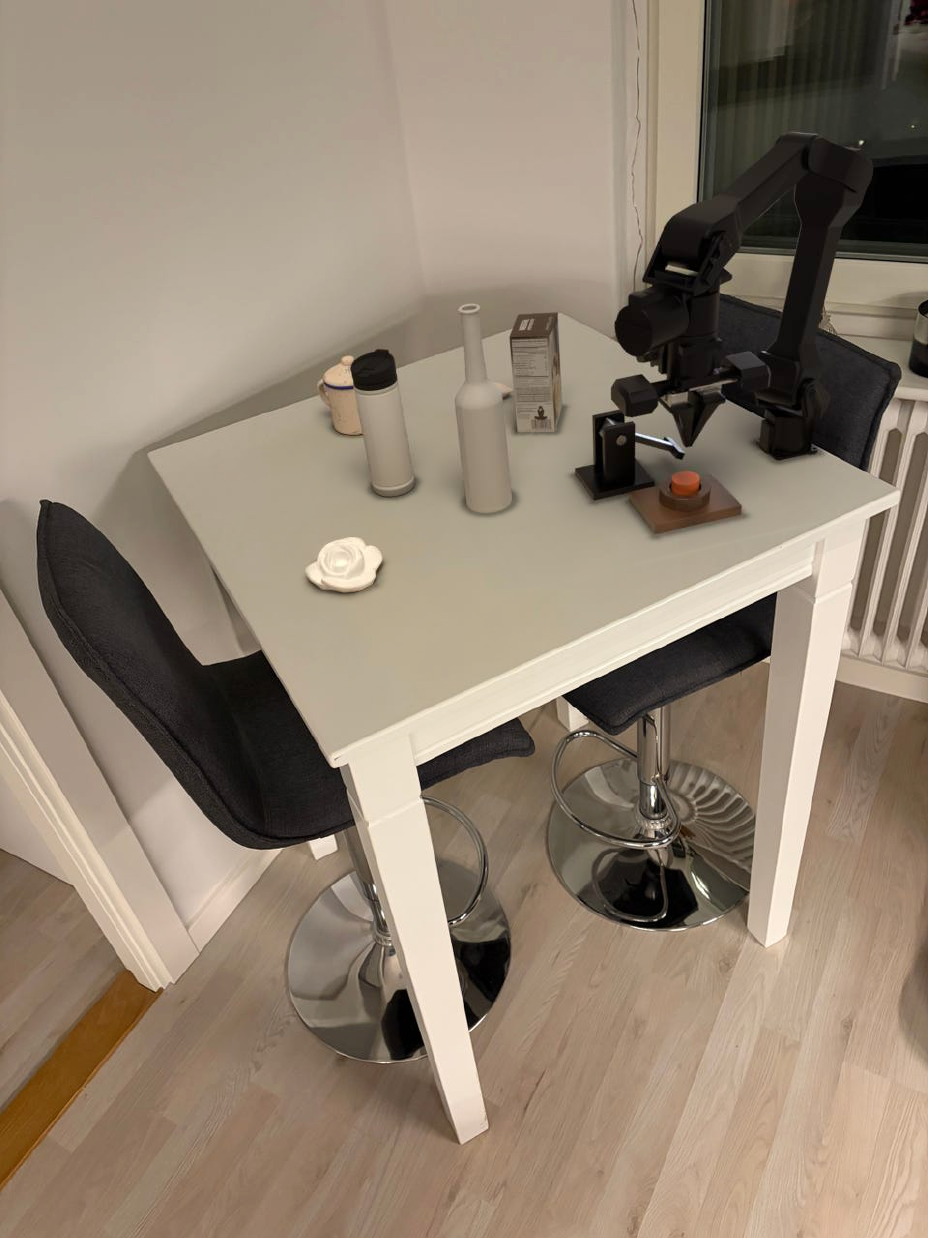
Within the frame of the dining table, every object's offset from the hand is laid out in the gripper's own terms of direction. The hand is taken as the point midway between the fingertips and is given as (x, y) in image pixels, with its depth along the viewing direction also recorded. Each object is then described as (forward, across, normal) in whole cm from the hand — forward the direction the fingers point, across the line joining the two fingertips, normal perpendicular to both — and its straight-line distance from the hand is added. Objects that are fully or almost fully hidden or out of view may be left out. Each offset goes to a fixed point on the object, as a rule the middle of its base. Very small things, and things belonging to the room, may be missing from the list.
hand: (687, 445), depth 119 cm
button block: (+10, 0, 0) cm, 10 cm away
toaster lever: (+5, +3, -10) cm, 12 cm away
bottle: (+10, +24, -12) cm, 29 cm away
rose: (+10, +46, -2) cm, 47 cm away
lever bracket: (+10, +6, -10) cm, 15 cm away
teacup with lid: (+10, +39, -46) cm, 61 cm away
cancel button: (+6, 0, 0) cm, 6 cm away
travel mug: (+10, +36, -22) cm, 44 cm away
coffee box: (+10, +10, -33) cm, 36 cm away
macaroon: (+10, +14, -44) cm, 48 cm away
